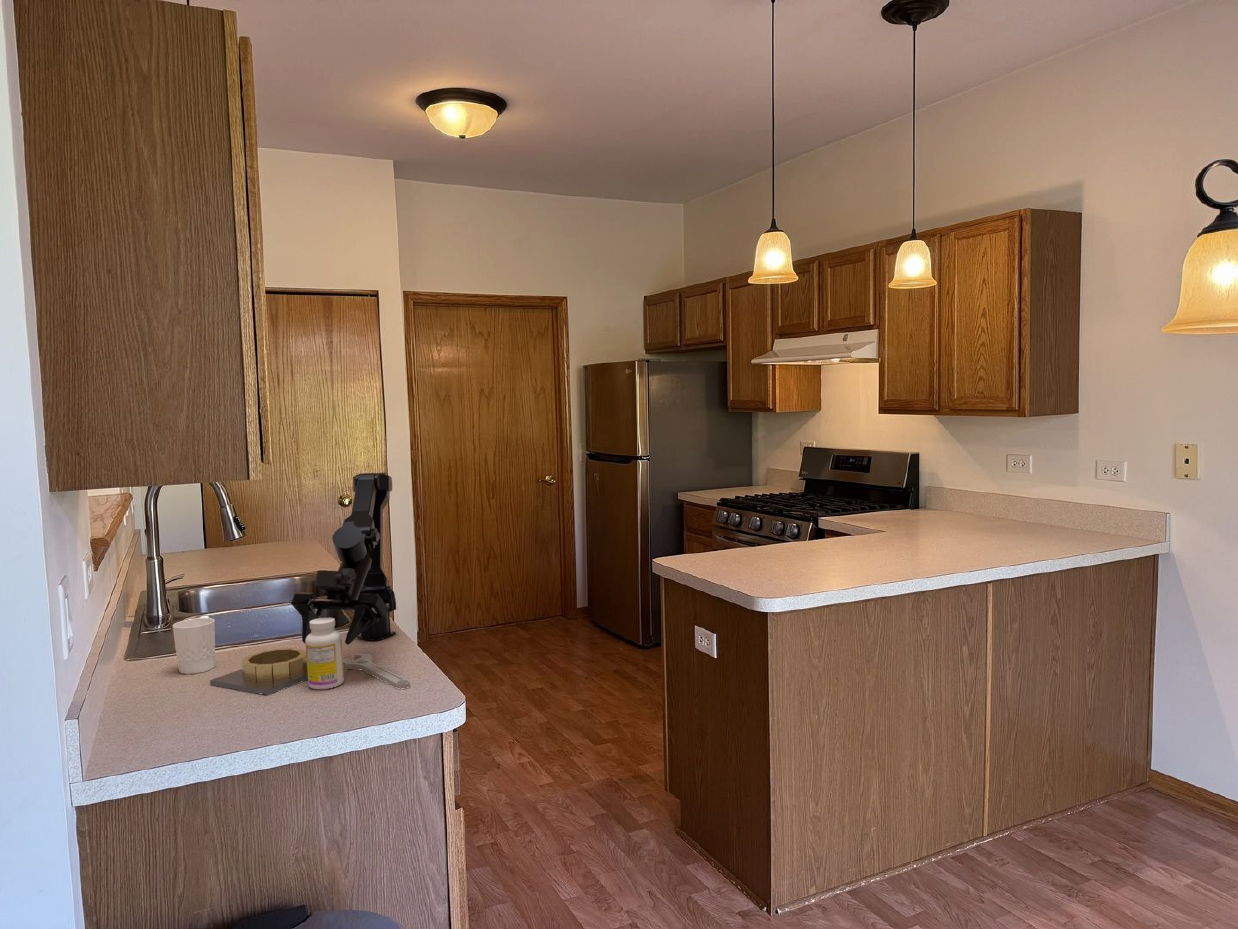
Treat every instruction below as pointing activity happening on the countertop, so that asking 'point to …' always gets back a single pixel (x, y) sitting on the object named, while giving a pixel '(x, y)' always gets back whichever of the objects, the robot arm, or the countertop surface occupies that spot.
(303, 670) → the ring collar
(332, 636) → the supplement bottle
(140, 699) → the countertop surface
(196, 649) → the white cup
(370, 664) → the adjustable wrench
